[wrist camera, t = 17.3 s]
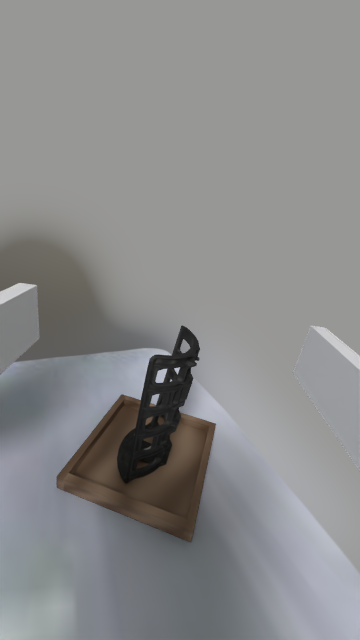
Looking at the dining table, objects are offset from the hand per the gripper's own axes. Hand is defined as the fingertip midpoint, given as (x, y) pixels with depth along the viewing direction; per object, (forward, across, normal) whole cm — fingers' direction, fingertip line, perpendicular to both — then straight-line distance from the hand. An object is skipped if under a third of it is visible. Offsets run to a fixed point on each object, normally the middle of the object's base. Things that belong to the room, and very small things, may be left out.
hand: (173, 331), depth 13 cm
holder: (+18, 0, -30) cm, 35 cm away
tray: (+18, 0, -30) cm, 35 cm away
